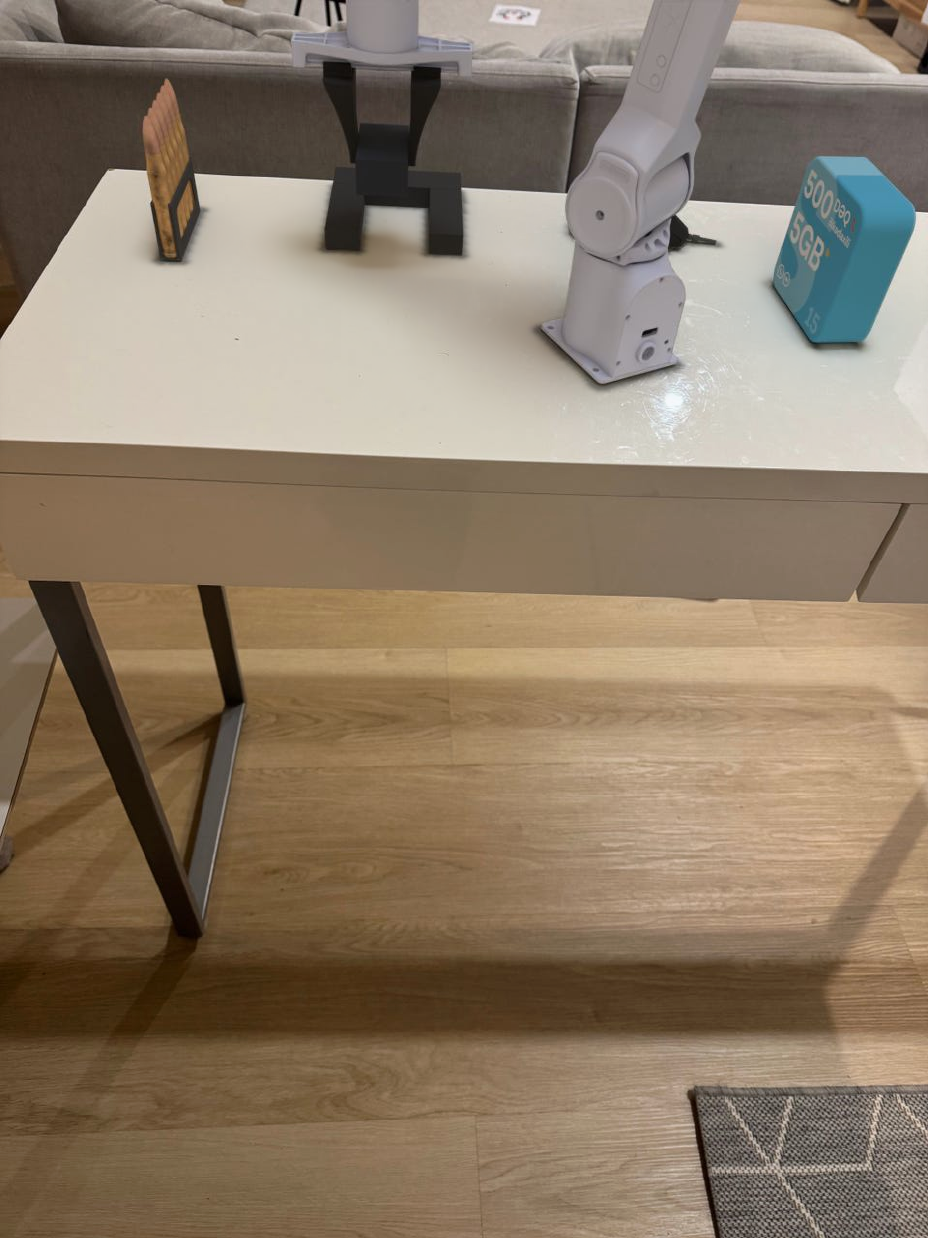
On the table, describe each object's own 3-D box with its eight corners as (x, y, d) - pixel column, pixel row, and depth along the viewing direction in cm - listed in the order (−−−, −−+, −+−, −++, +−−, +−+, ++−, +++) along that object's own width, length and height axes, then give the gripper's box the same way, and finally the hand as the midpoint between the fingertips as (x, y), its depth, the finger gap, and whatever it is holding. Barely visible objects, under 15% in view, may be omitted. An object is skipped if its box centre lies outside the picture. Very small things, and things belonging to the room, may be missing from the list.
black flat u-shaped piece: (462, 255, 87) (463, 234, 85) (325, 249, 86) (324, 228, 84) (459, 192, 96) (460, 172, 94) (336, 186, 95) (335, 166, 94)
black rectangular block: (407, 197, 78) (407, 161, 76) (356, 195, 78) (355, 158, 76) (408, 159, 84) (409, 124, 81) (360, 157, 83) (359, 122, 81)
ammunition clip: (181, 208, 90) (158, 73, 81) (200, 209, 90) (179, 75, 81) (160, 260, 83) (131, 119, 74) (181, 261, 83) (154, 120, 74)
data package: (769, 281, 87) (811, 149, 78) (813, 281, 87) (861, 150, 78) (814, 349, 79) (868, 212, 70) (863, 349, 79) (923, 212, 70)
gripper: (474, -33, 73) (464, 146, 83) (292, -44, 72) (304, 138, 82) (477, -7, 68) (466, 178, 78) (282, -19, 67) (297, 170, 77)
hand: (383, 160), depth 80 cm, fingers closed on black rectangular block, 4 cm apart
